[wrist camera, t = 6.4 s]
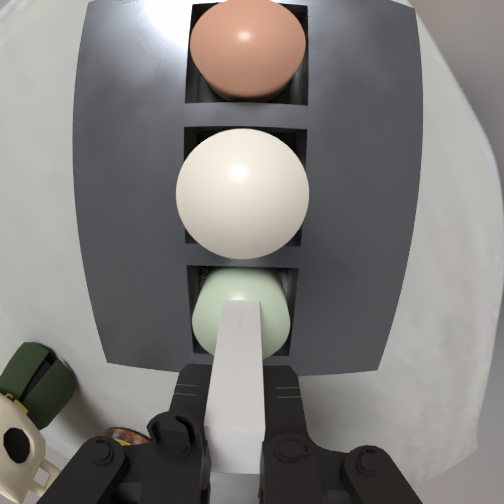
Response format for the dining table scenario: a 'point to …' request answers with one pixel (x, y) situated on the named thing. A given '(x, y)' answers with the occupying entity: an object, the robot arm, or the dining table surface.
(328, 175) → the panel
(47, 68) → the dining table surface
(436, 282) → the dining table surface
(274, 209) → the cream button
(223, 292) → the sage button
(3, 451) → the character mug
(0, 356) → the dining table surface
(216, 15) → the terracotta button
